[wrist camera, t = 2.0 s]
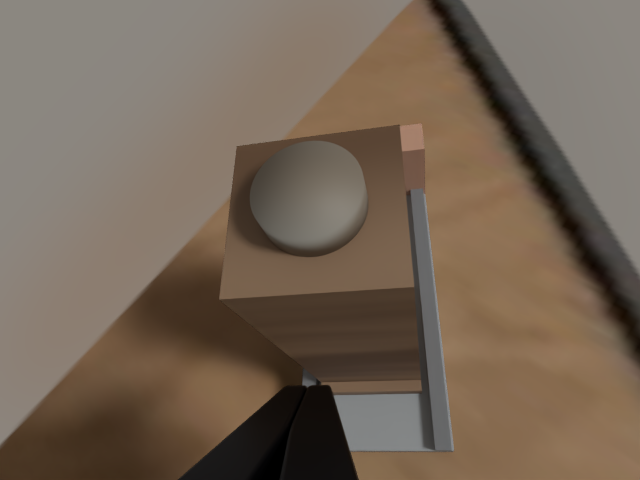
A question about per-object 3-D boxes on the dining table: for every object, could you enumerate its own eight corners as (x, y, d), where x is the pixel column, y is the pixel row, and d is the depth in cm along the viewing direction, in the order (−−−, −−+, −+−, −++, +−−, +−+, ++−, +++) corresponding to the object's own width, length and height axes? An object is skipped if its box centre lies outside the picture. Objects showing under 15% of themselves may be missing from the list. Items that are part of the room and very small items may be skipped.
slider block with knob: (422, 393, 18) (415, 292, 8) (325, 395, 19) (199, 305, 8) (412, 282, 20) (396, 86, 10) (325, 288, 21) (225, 111, 11)
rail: (452, 451, 18) (459, 447, 14) (308, 451, 19) (275, 446, 15) (422, 183, 24) (421, 123, 20) (313, 195, 25) (290, 140, 21)
